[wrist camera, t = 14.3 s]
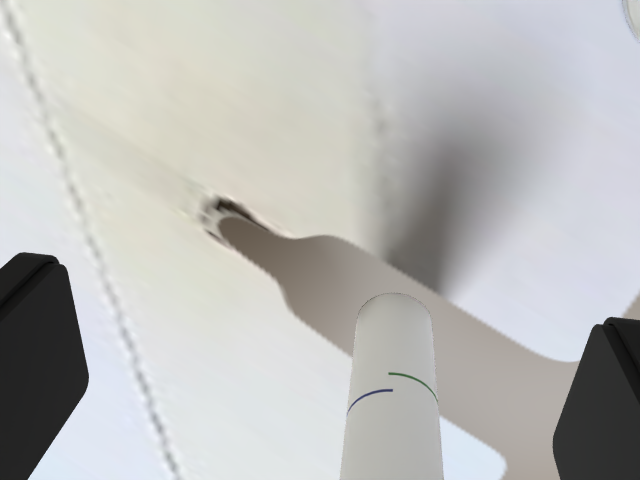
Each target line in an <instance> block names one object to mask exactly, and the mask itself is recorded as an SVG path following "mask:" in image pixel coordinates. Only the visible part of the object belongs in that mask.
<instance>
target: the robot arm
mask: <svg viewBox="0 0 640 480" xmlns="http://www.w3.org/2000/svg"><path fill="white" fill-rule="evenodd" d="M622 4H623V9H624V13H625V17H626V21H627V23H628V25H629V27H630V29H631V31H632V33H633V35H634V36H635V38H636V39H637V40H638V41H639V42H640V0H622ZM88 382H89V373H88V368H87V363H86V359H85V354H84V349H83V344H82V339H81V334H80V329H79V325H78V320H77V315H76V310H75V305H74V300H73V295H72V291H71V286H70V281H69V276H68V272H67V269H66V267H65V266H64V265H62V264H59V261H58V260H57V258H56V257H54V256H52V255H44V254H35V253H26V252H23V253H19V254H17V255H16V256H14V257H13V258H12V259H11V260H10V261H9V262H8V263H6V264H5V265H4V266H3V267H2V268H1V269H0V480H28V478H29V477H30V475H31V474H32V472H33V471H34V469H35V468H36V466H37V465H38V463H39V462H40V460H41V458H42V457H43V455H44V454H45V452H46V451H47V449H48V448H49V446H50V445H51V443H52V442H53V440H54V439H55V437H56V436H57V434H58V433H59V431H60V430H61V428H62V427H63V425H64V424H65V422H66V421H67V419H68V418H69V416H70V415H71V413H72V412H73V410H74V409H75V407H76V406H77V404H78V403H79V401H80V400H81V398H82V397H83V395H84V394H85V392H86V389H87V386H88ZM553 454H554V458H555V461H556V465H557V469H558V472H559V476H560V479H561V480H640V320H634V319H625V318H616V317H610V318H607V319H606V320H605V322H604V324H603V325H601V324H596V325H595V326H594V327H593V328H592V330H591V333H590V336H589V339H588V341H587V344H586V347H585V350H584V352H583V355H582V358H581V361H580V363H579V366H578V369H577V372H576V374H575V377H574V380H573V383H572V385H571V389H570V391H569V394H568V397H567V399H566V402H565V405H564V408H563V411H562V413H561V416H560V419H559V422H558V424H557V427H556V430H555V433H554V436H553Z"/></svg>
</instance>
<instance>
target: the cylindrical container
mask: <svg viewBox="0 0 640 480" xmlns="http://www.w3.org/2000/svg"><path fill="white" fill-rule="evenodd" d="M340 480H444V475H443V462H442V449H441V436H440V423H439V409H438V397H437V384H436V370H435V357H434V344H433V331H432V320H431V316H430V313H429V311H428V310H427V308H426V307H425V306H424V305H423V304H422V303H421V302H420V301H418V300H417V299H415V298H413V297H411V296H408V295H405V294H400V293H387V294H382V295H378V296H376V297H374V298H372V299H370V300H369V301H367V302H366V303H365V304H364V305H363V306H362V308H361V310H360V312H359V314H358V317H357V325H356V334H355V344H354V352H353V361H352V370H351V379H350V389H349V398H348V407H347V416H346V425H345V434H344V443H343V452H342V462H341V471H340Z"/></svg>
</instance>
